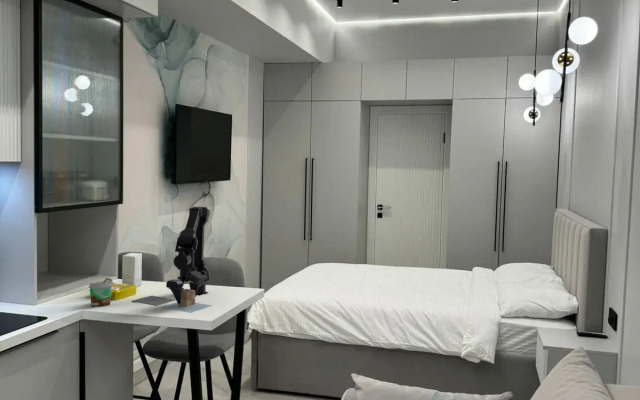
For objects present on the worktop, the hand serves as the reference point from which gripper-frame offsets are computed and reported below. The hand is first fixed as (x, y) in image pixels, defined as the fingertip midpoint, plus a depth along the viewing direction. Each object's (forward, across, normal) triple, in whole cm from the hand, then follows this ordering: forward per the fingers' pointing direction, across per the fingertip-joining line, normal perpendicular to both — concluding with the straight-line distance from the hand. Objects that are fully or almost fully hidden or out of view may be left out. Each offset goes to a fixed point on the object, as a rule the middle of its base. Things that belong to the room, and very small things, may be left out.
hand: (186, 301), depth 245 cm
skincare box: (+2, +14, +45) cm, 47 cm away
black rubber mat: (+2, -2, +16) cm, 16 cm away
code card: (+2, -2, -2) cm, 3 cm away
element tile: (+2, -4, +38) cm, 38 cm away
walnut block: (+1, 0, 0) cm, 1 cm away
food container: (+2, -18, +28) cm, 33 cm away
